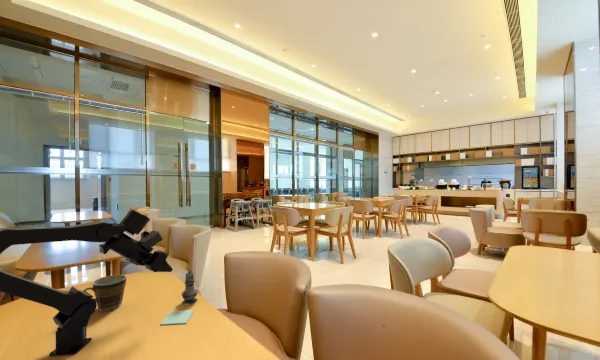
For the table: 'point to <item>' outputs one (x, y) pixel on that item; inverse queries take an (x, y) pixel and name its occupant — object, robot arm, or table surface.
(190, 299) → the grey stone tiered figure
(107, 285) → the ceramic cup
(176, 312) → the plate
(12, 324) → the table surface
